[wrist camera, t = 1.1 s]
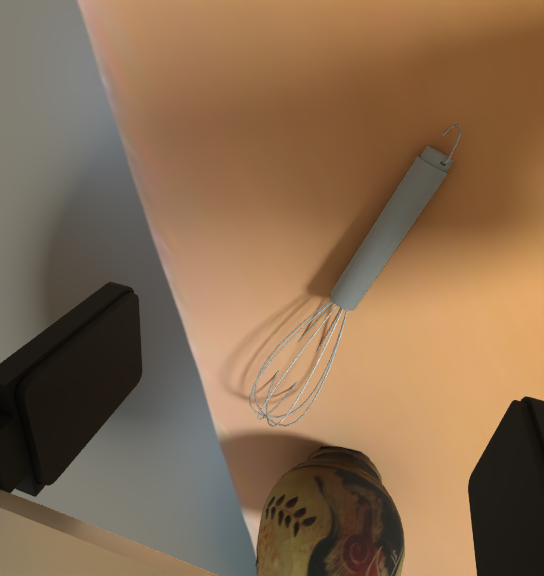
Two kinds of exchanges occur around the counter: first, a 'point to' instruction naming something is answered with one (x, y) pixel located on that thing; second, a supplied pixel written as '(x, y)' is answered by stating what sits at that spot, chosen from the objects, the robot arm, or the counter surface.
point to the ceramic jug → (330, 520)
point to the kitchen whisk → (375, 251)
